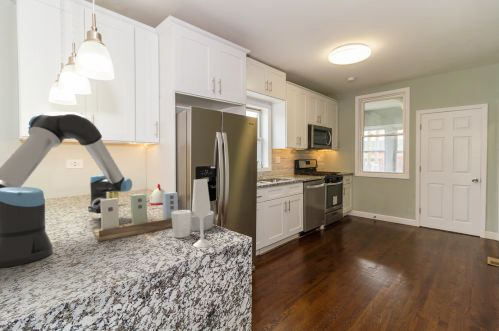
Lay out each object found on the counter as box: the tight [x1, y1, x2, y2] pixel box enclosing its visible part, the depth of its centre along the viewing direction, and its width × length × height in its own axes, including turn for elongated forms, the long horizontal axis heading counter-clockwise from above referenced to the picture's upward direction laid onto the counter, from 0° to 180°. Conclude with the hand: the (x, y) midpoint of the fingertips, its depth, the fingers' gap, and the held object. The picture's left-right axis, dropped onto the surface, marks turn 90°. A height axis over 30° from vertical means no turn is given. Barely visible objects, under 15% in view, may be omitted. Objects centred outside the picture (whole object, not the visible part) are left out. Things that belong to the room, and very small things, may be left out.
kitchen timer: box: [148, 183, 167, 206], centre depth 180 cm, size 14×14×15 cm
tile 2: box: [130, 193, 148, 225], centre depth 114 cm, size 4×6×14 cm
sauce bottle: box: [108, 192, 120, 204], centre depth 175 cm, size 7×6×20 cm
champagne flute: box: [191, 178, 212, 248], centre depth 88 cm, size 7×7×24 cm
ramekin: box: [190, 210, 215, 232], centre depth 111 cm, size 13×13×7 cm
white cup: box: [171, 209, 192, 239], centre depth 100 cm, size 8×8×10 cm
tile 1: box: [100, 197, 120, 230], centre depth 101 cm, size 4×6×14 cm
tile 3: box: [162, 191, 179, 220], centre depth 117 cm, size 4×6×14 cm
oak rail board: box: [92, 217, 173, 242], centre depth 112 cm, size 16×36×4 cm, turn 129°
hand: (108, 212), depth 108 cm, fingers closed
